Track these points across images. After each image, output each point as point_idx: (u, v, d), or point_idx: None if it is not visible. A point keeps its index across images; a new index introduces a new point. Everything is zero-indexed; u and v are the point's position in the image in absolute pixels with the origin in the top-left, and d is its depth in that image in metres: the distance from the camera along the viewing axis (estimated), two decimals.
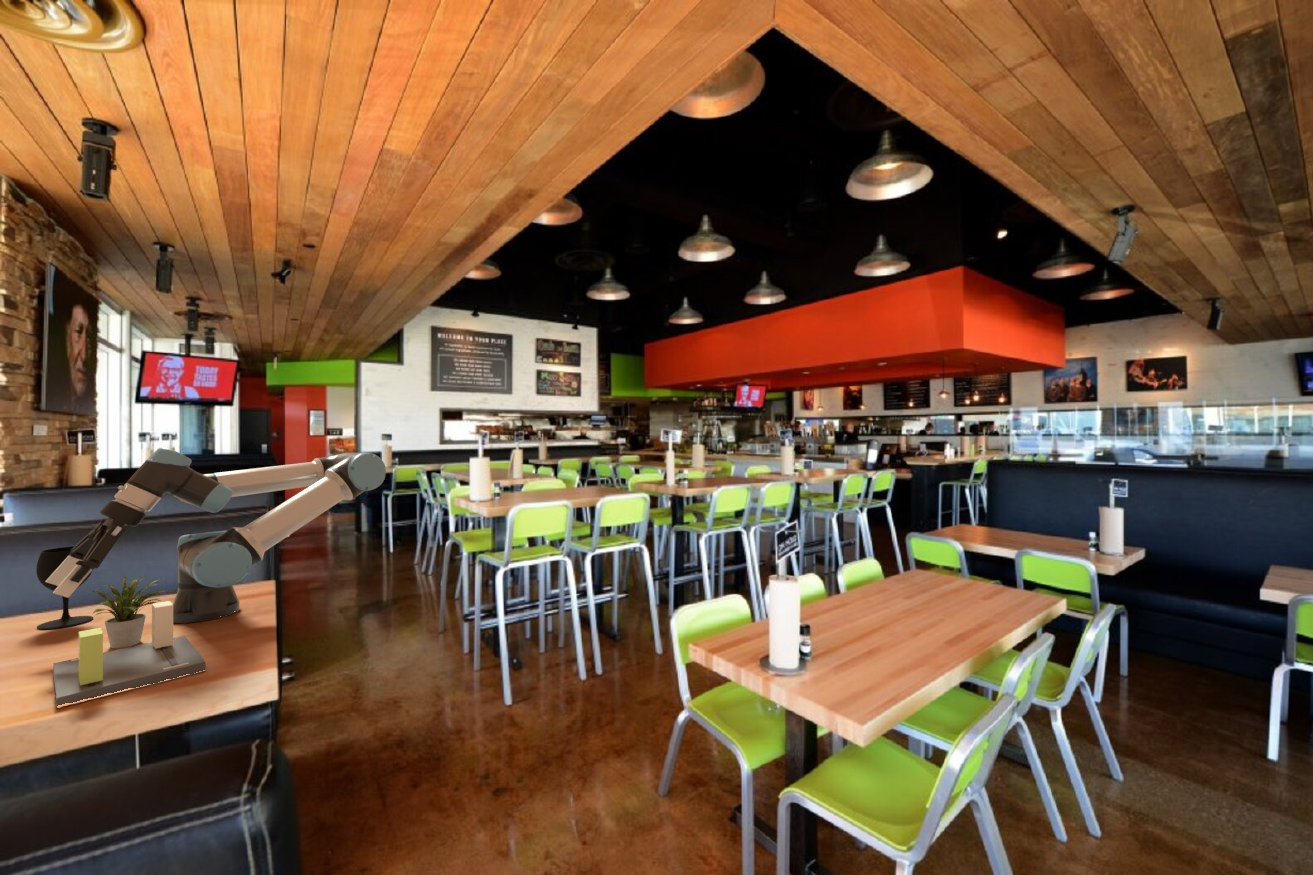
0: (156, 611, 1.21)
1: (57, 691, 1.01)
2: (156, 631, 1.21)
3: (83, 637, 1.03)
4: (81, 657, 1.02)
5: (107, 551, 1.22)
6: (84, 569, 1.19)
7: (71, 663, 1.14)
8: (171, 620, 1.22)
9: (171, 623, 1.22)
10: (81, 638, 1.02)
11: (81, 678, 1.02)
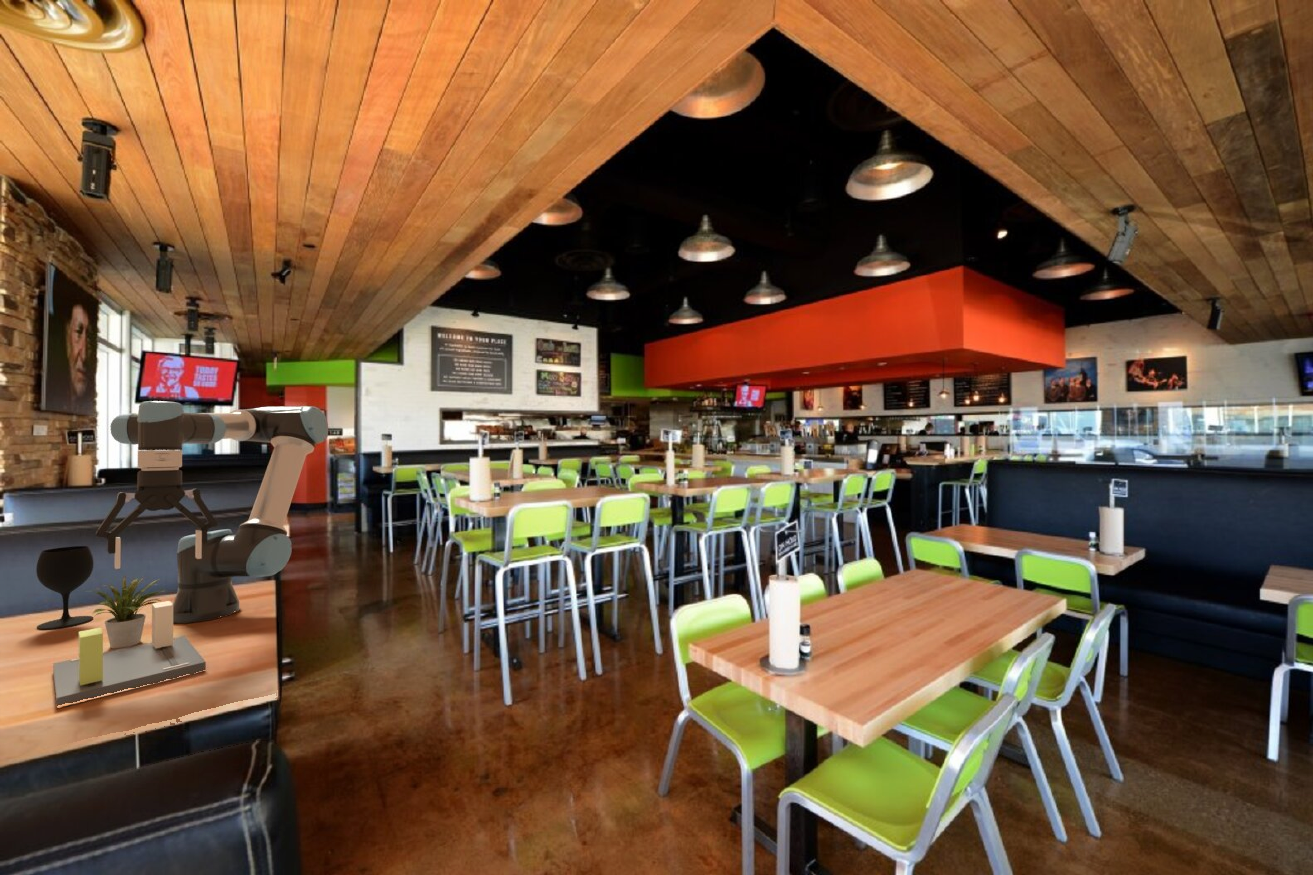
0: (156, 611, 1.21)
1: (57, 691, 1.01)
2: (156, 631, 1.21)
3: (83, 637, 1.03)
4: (81, 657, 1.02)
5: None
6: None
7: (71, 663, 1.14)
8: (171, 620, 1.22)
9: (171, 623, 1.22)
10: (81, 638, 1.02)
11: (81, 678, 1.02)
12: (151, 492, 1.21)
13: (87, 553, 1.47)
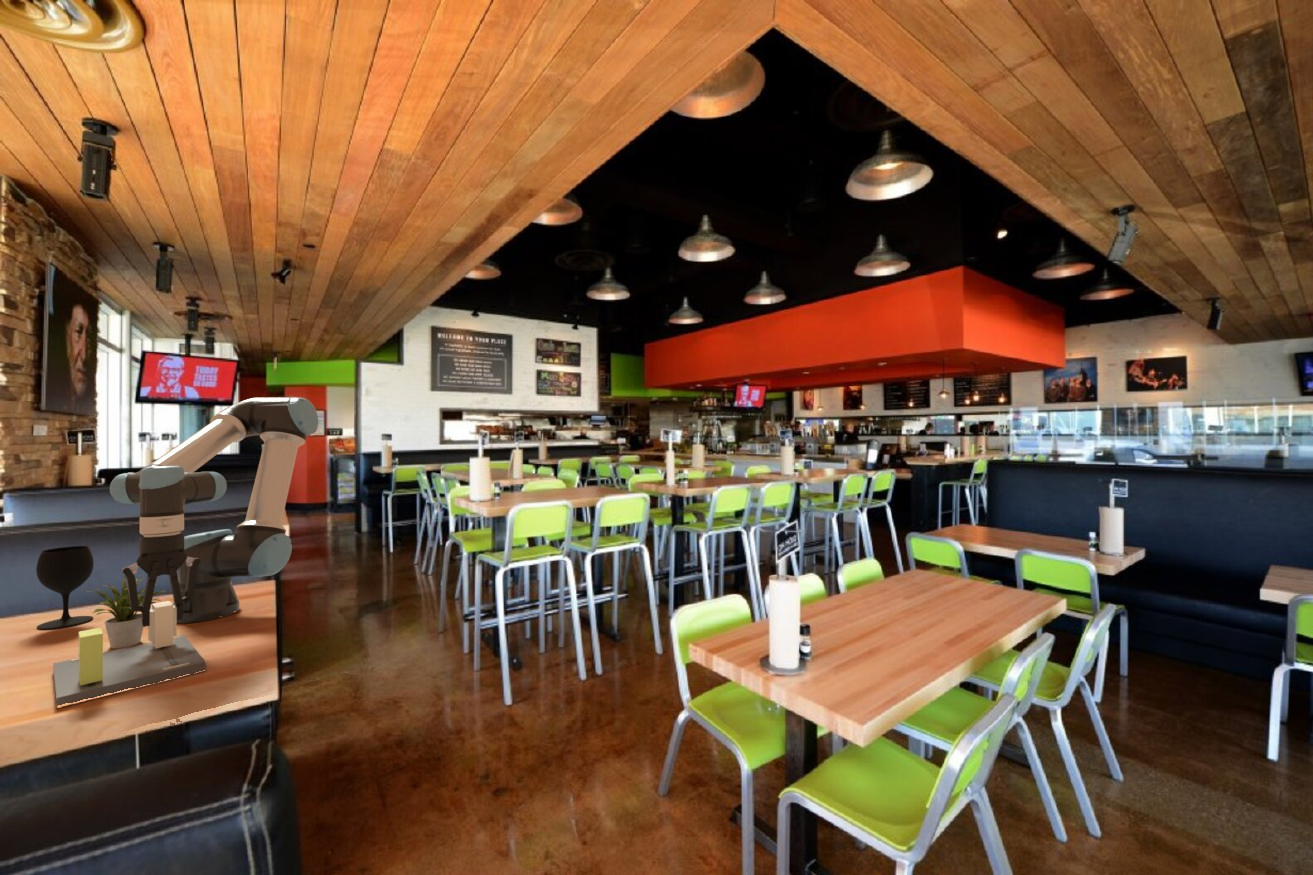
0: (156, 611, 1.21)
1: (57, 691, 1.01)
2: (156, 631, 1.21)
3: (83, 637, 1.03)
4: (81, 657, 1.02)
5: None
6: None
7: (71, 663, 1.14)
8: (171, 620, 1.22)
9: (171, 623, 1.22)
10: (81, 638, 1.02)
11: (81, 678, 1.02)
12: (150, 555, 1.21)
13: (87, 553, 1.47)
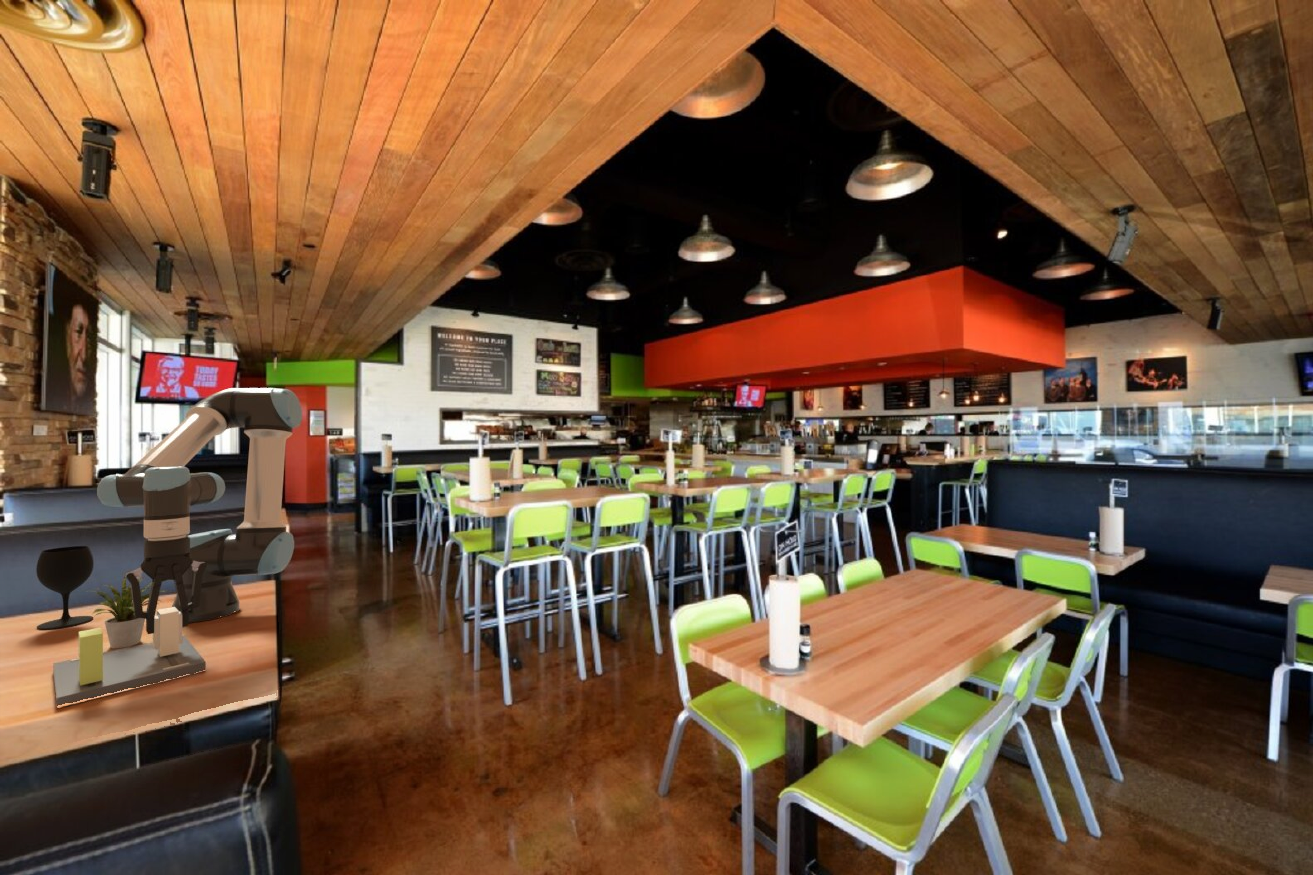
0: (161, 618, 1.16)
1: (57, 691, 1.01)
2: (161, 638, 1.16)
3: (83, 637, 1.03)
4: (81, 657, 1.02)
5: None
6: None
7: (71, 663, 1.14)
8: (177, 627, 1.18)
9: (177, 630, 1.18)
10: (81, 638, 1.02)
11: (81, 678, 1.02)
12: (155, 560, 1.16)
13: (87, 553, 1.47)
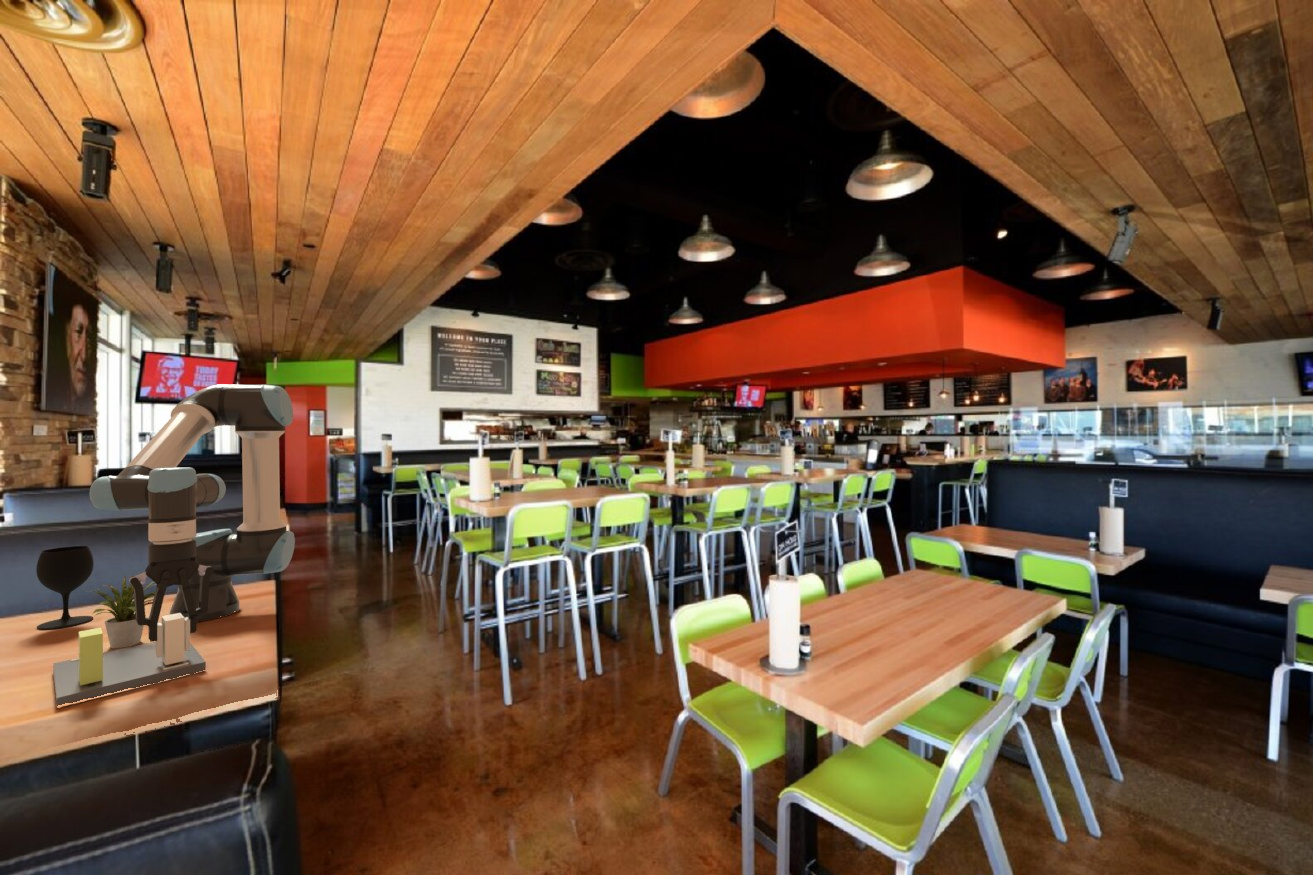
0: (166, 624, 1.11)
1: (57, 691, 1.01)
2: (166, 646, 1.11)
3: (83, 637, 1.03)
4: (81, 657, 1.02)
5: None
6: None
7: (71, 663, 1.14)
8: (182, 634, 1.13)
9: (182, 637, 1.13)
10: (81, 638, 1.02)
11: (81, 678, 1.02)
12: (160, 564, 1.12)
13: (87, 553, 1.47)
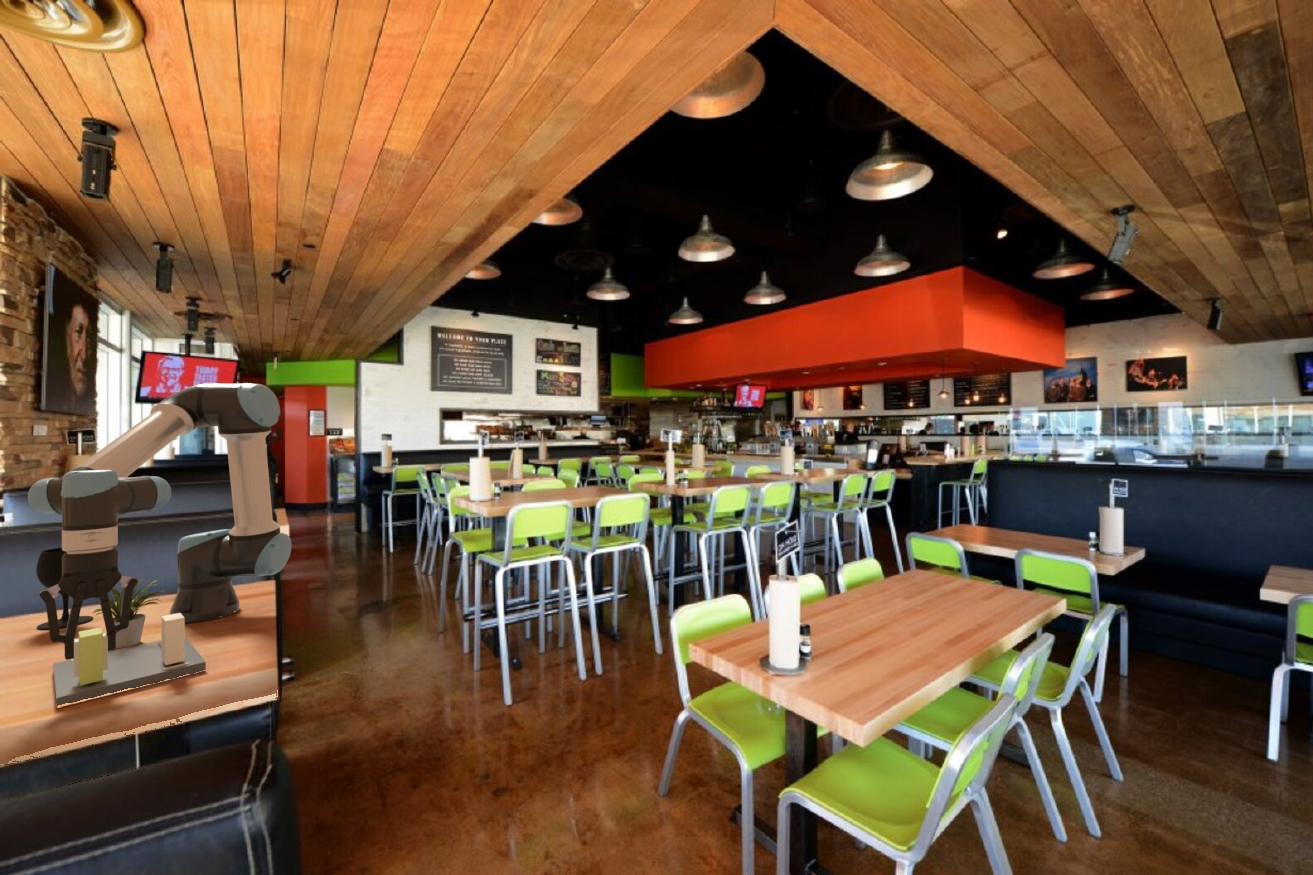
0: (166, 624, 1.11)
1: (57, 691, 1.01)
2: (166, 646, 1.11)
3: (83, 637, 1.03)
4: (81, 657, 1.02)
5: None
6: (115, 634, 1.07)
7: (71, 663, 1.14)
8: (182, 634, 1.13)
9: (182, 637, 1.13)
10: (81, 638, 1.02)
11: (81, 678, 1.02)
12: (74, 575, 1.03)
13: None
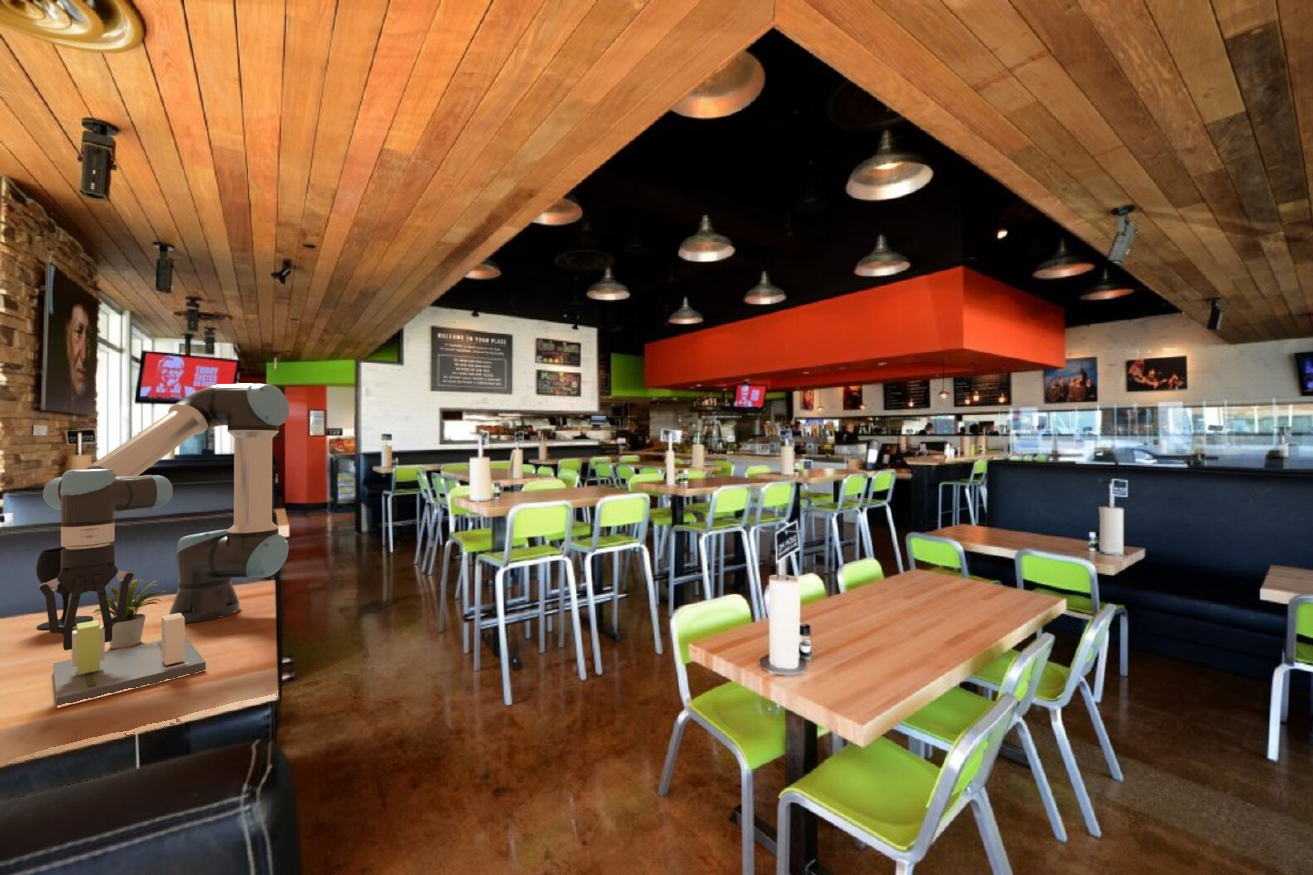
0: (166, 624, 1.11)
1: (57, 691, 1.01)
2: (166, 646, 1.11)
3: (81, 629, 1.07)
4: (79, 648, 1.07)
5: None
6: (112, 626, 1.12)
7: None
8: (182, 634, 1.13)
9: (182, 637, 1.13)
10: (79, 630, 1.07)
11: (79, 668, 1.07)
12: (73, 570, 1.07)
13: None
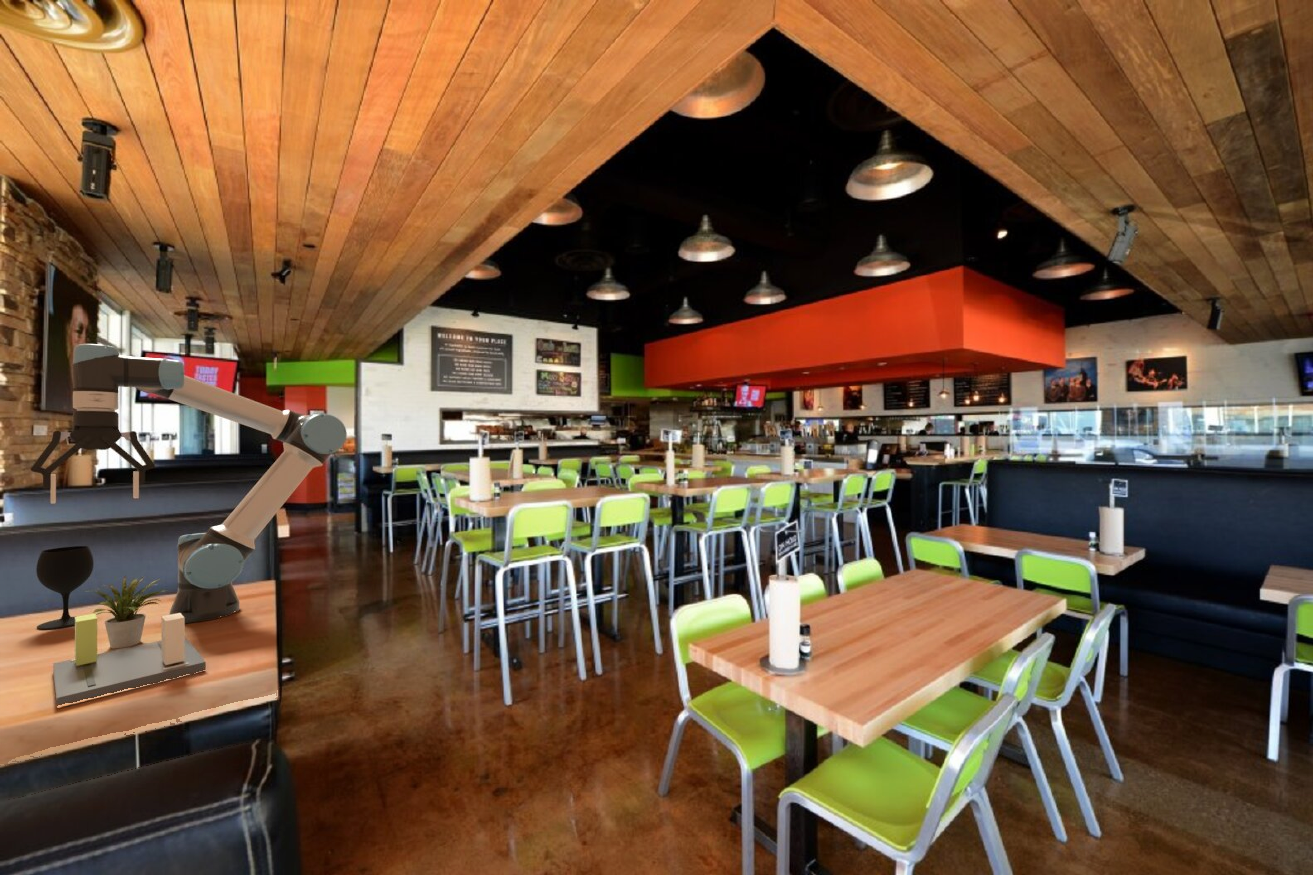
0: (166, 624, 1.11)
1: (57, 691, 1.01)
2: (166, 646, 1.11)
3: (79, 621, 1.12)
4: (77, 640, 1.11)
5: None
6: (144, 472, 1.34)
7: (71, 663, 1.14)
8: (182, 634, 1.13)
9: (182, 637, 1.13)
10: (77, 622, 1.11)
11: (77, 659, 1.11)
12: (87, 432, 1.26)
13: (87, 553, 1.47)
